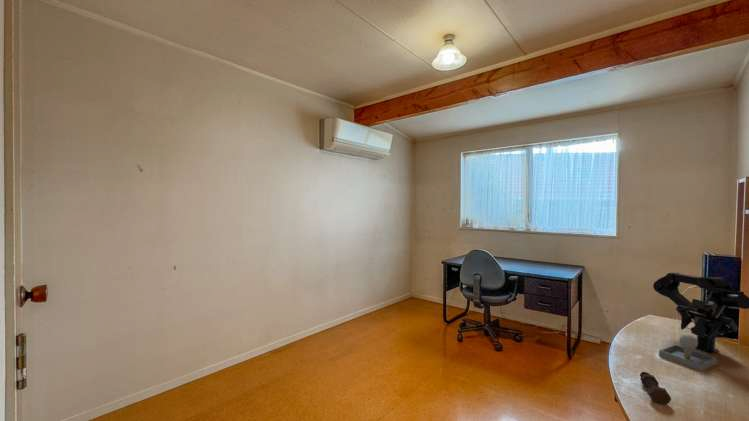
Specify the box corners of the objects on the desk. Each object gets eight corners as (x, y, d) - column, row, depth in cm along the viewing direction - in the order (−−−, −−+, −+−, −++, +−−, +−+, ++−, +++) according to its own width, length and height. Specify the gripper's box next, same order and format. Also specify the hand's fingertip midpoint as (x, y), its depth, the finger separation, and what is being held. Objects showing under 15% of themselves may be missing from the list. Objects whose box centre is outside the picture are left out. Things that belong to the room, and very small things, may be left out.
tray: (674, 349, 141) (674, 344, 141) (716, 363, 129) (716, 357, 129) (658, 355, 135) (659, 350, 135) (701, 371, 124) (701, 365, 123)
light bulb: (693, 363, 129) (695, 338, 128) (675, 356, 133) (677, 333, 133) (699, 360, 131) (700, 336, 131) (681, 354, 136) (683, 331, 135)
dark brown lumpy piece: (647, 386, 117) (662, 409, 103) (632, 376, 119) (646, 397, 105) (657, 374, 116) (675, 396, 102) (642, 364, 118) (657, 385, 104)
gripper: (679, 287, 144) (659, 313, 142) (734, 299, 126) (713, 329, 124) (691, 303, 146) (672, 329, 144) (747, 317, 128) (727, 347, 126)
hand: (694, 333), depth 134 cm, fingers open, 9 cm apart
